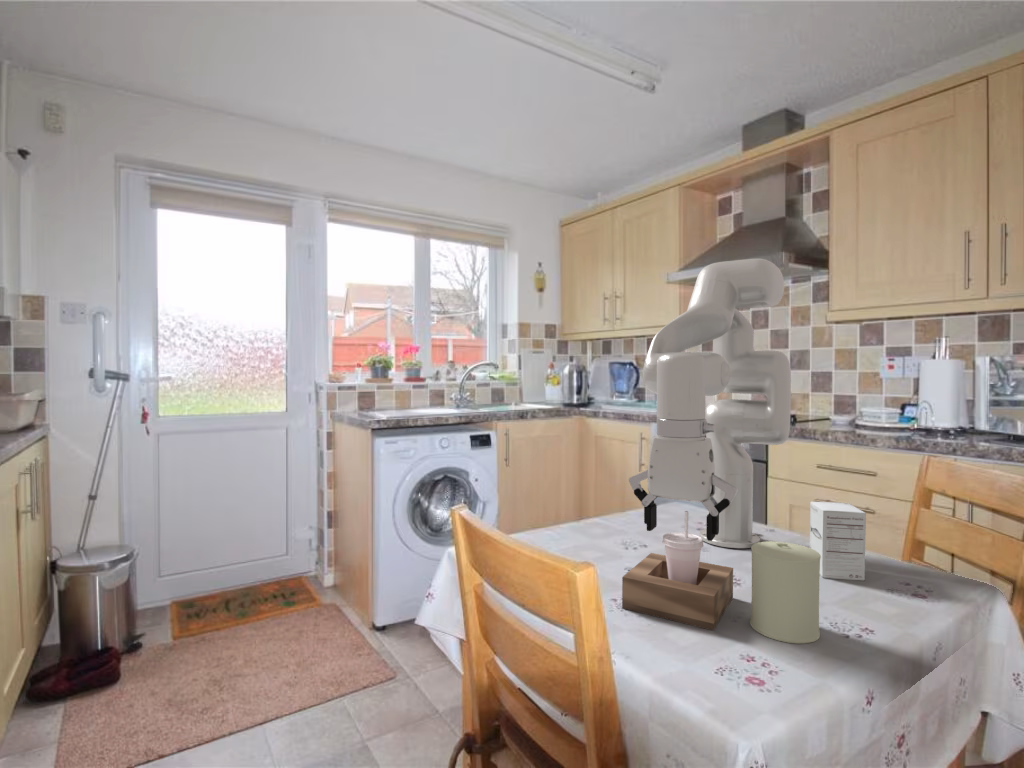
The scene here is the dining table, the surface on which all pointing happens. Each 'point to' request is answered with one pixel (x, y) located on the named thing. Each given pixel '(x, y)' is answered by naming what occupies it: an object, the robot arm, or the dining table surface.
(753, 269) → the robot arm
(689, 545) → the smoothie
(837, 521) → the supplement box
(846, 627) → the dining table surface
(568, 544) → the dining table surface
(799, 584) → the can
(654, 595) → the socket block
